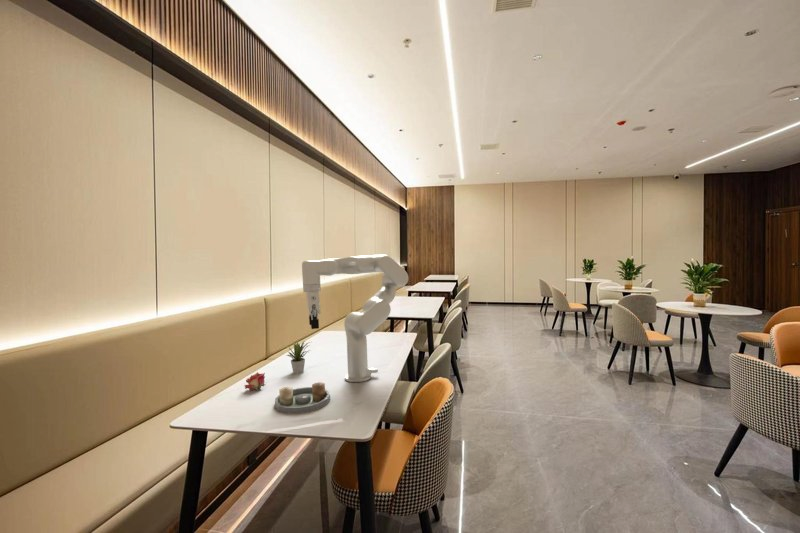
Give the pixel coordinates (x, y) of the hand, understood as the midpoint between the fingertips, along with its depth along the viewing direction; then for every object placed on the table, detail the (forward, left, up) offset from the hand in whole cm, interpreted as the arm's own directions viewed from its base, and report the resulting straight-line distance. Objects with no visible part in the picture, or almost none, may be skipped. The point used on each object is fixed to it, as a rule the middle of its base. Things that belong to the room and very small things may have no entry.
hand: (314, 326), depth 159 cm
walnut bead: (0, +16, -27) cm, 31 cm away
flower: (+26, -8, -28) cm, 39 cm away
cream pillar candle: (+13, +16, -27) cm, 34 cm away
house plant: (+6, -27, -28) cm, 39 cm away
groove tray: (+6, +16, -28) cm, 33 cm away
